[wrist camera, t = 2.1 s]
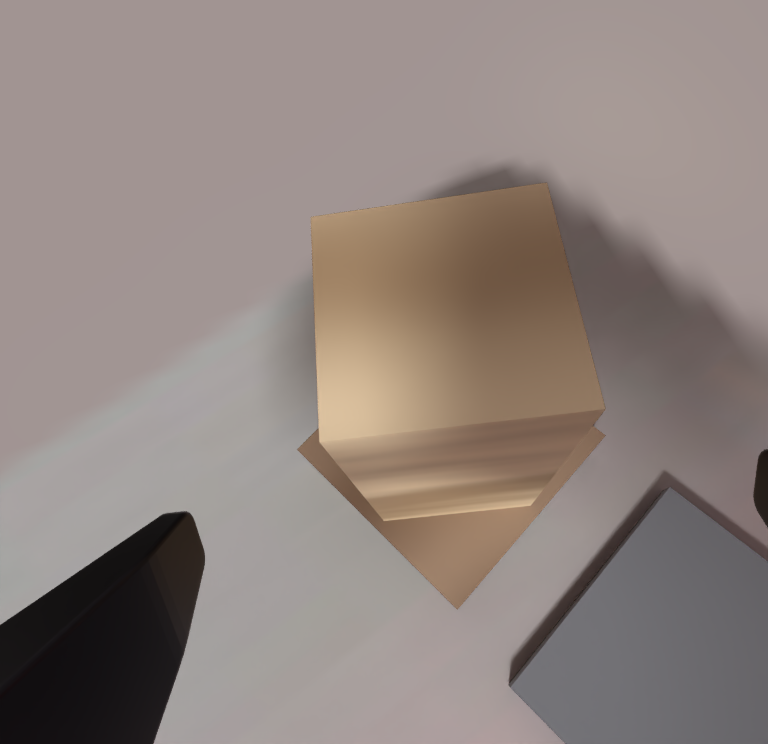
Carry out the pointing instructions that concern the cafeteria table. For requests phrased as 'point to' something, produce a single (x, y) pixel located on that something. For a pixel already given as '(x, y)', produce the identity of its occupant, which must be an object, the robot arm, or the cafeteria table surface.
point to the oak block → (450, 351)
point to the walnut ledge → (451, 525)
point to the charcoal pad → (660, 641)
